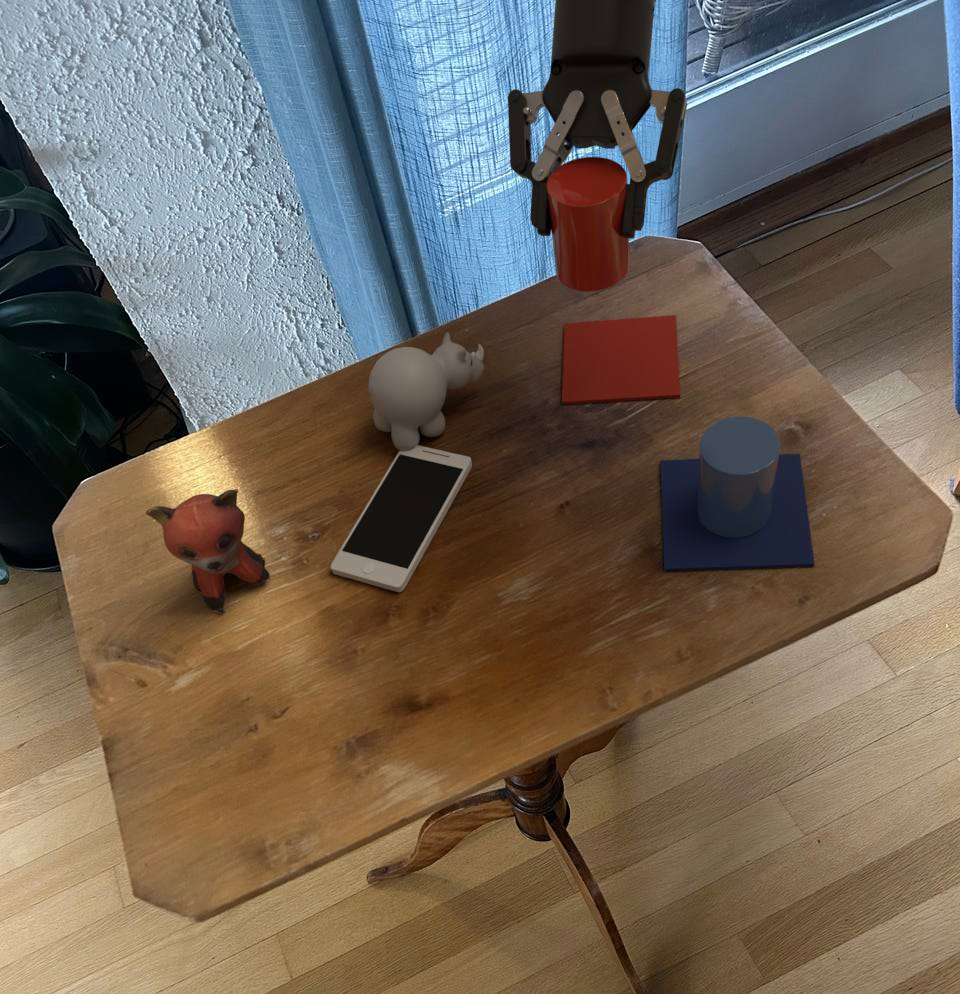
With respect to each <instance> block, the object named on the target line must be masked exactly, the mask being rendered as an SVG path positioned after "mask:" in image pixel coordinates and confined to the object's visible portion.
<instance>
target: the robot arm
mask: <svg viewBox="0 0 960 994" xmlns="http://www.w3.org/2000/svg"><path fill="white" fill-rule="evenodd" d="M554 1H555V2H554V3H555V4H554V16H553V29H552V42H551V43H552V44H551V56H550V57H551V58H550V70H549V76H548V79H547V82H546V84H545V86H544V87H543V89H542V90H537V91H531V92H523V91H521V90H520V89H517V88H515V89H512V90H510V92H509V93H508V95H507V112H508V113H507V114H508V140H509V161H510V162H509V163H510V169H511V170H512V171H513V172H514V173H516V174H517V175H518V177H520V178H523V179H525V180H528V181H530V182H531V201H530V216H529V220H530V222H531V226H533V227H534V228H536V232H537V235H539V236H540V237H550V236H551V235H552V232H551V222H550V213H549V203H548V193H547V182H548V179H549V177H550V175H551V174H552V173H553V172H554V171H555V170H556V169H557V168H558V167H560V166H561V165H563V164H564V163H566V160H567V159H568V158H569V156H570V154H571V152H572V150H573V149H574V148H575V149H579V150H580V149H581V150H582V149H589V148H592V147H598V148H602V149H605V150H608V149H610V150H611V149H612V150H613V149H616V147H617V146H618V148H619V151H620V153H621V156H622V158H623V160H624V163H625V166H626V168H627V171H628V174H629V177H630V178H629V183H627V188H626V197H625V208H624V219H623V237H624V238H629V240H630V239H631V240H632V239H635V236H636V232H641V231H642V230H643V227H644V225H645V219H646V218H645V217H646V207H647V196H648V190H649V188H650V187H651V185H653V184H655V183H656V182H659V181H668V180H669V179H671V178H672V177H673V175H674V171H675V166H676V162H677V156H678V151H679V148H680V143H681V142H680V141H681V137H682V132H683V128H684V122H685V116H686V113H687V109H688V102H687V98H686V95H685V92H684V90H683V89H682V88H679V87H676V88H673V89H671V91H669V90H668V91H667V90H660V89H659V90H658V89H652V87H651V83H650V80H649V72H650V71H649V70H650V62H651V61H650V60H651V49H652V40H653V39H652V38H653V28H654V17H655V7H656V6H655V5H656V2H657V0H554ZM651 106H652V107H653V108H654V109H655V115H656V118H657V121H658V122H659V123H660V124H662V126H661V131H660V136H659V141H658V145H657V151H656V155H655V160H653V161H650V162H648V163H645V162H644V159H643V156H642V153H641V151H640V147H639V146H638V143H637V140H636V137H635V134H634V133H633V131H634V129H636V126H638V124H639V123H640V121H641V120H642V119H643V118H644V116H645V114H646V113H647V112H648V110H649V109H650V108H651ZM544 107H545V109H546V111H547V112H548V114H549V116H550V117H551V120H552V121H553V123H554V125H553V126H552V128H551V130H550V132H549V134H548V136H547V137H546V139H545V142H544V144H543V149H542V151H541V153H540V155H539V157H538V158H537V160H536V162H535V161H533V159H532V158H533V156H532V133H531V131H532V130H531V129H532V128H531V125H532V124H535V123H536V122H537V121H538V118H539V112H540V111H541V109H543V108H544Z"/></svg>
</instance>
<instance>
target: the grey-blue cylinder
mask: <svg viewBox="0 0 960 994" xmlns="http://www.w3.org/2000/svg"><path fill="white" fill-rule="evenodd" d="M698 453H699V454H698V459H699V469H698V491H697V515H698V518H699V520H700V522H701V523H702V524H703V526H704V527H705V528H707V529H708V530H709V531H711V532H712V533H714V534H717V535H719V536H723V537H728V538H741V537H746V536H749V535H752V534H754V533H756V532H758V531H759V530H761V529H762V528H763V527H764V526H765V525H766V524H767V522H768V521H769V519H770V516H771V511H772V504H773V497H774V490H775V483H776V476H777V468H778V461H779V455H781V440H780V437H779V435H778V432H777V431H776V430H775V429H774V428H773V427H772V426H771V425H770V424H768V423H767V422H766V421H764V420H761V419H759V418H755V417H752V416H744V415H743V416H742V415H738V416H729V417H725V418H721V419H720V420H717V421H716V422H714V423H712V424H711V425H710V426H708V428H706V429H705V430H704V432H703V433H702V435H701V437H700V441H699V449H698Z"/></svg>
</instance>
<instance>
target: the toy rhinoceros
mask: <svg viewBox="0 0 960 994" xmlns="http://www.w3.org/2000/svg"><path fill="white" fill-rule="evenodd" d="M477 345H478V346H477V350H476V352H475V351H472V352H469V351H467V349H465V347H464V346H462V345H461V344H459V343H455V342H452V341H451V334H450V332H448V331H447V332H446V333H445V334H444V336H443V340H442V343H441V345H440V346H439V347H437V348H436V349H435V351H434V352H433V353H432V354H429V352H427V351H425V350H423V349H421V348H417V347H413V346H401V347H396V348H393V349H390V350H389V351H388V352H386V353H384V354H383V355H381V356H380V357H379V358H378V360H377V361H376V362H375V364H374V365H373V367H372V369H371V371H370V373H369V378H368V396H369V399H370V402H371V405H372V406H373V408H374V410H373V416H372V417H373V424H374V426H375V428H376V429H377V430H379V431H381V432H384V433H391V440H392V443H393V445H394V447H395V448H396V449H397V450H398V451H400V450H410V449H413V448H415V447H416V446H417V445H419V443H420V439H421V437H420V434H421V435H422V436H424V437H427V438H436V437H439V436H441V435H442V434H443V432H444V431H445V430H446V419H445V416H444V414H443V412H442V408H443V406H444V403H445V401H446V397H447V392H448V391H447V390H458V389H461V388H463V387H465V386H466V385H467V384H473V383H475V382H477V381H478V380H480V379H481V377H482V376H483V372H484V370H485V365H484V363H483V360H484V356H485V351H484V347H483V346H482V344H480V343H478V344H477Z"/></svg>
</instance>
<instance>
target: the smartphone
mask: <svg viewBox="0 0 960 994" xmlns="http://www.w3.org/2000/svg"><path fill="white" fill-rule="evenodd" d="M472 467H473V462H472V458H471V457H470V456H468V455H464V454H459V453H453V452H450V451H445V450H442V449H441V450H440V449H436V448H431V447H427V446H423V445H419V444H418V445H417V446H416V447H415V448H413V449H410V450H398V452H397V454H396V455H395V457H394V459H393V461H392V462H391V464H390V466H389V467H388V469H387V471H386V472H385V474H384V475H383V477H382V479H381V481H380V482H379V484H378V486H377V487H376V488H375V490H374V492H373V494H372V496H371V497H370V499H369V500H368V502H367V504H366V505H365V506H364V508H363V510H362V512H361V513H360V515H359V517H358V518H357V520H356V522H355V523H354V525H353V527H352V528H351V530H350V532H349V534H347V537H346V539H345V540H344V542H343V543H342V545H341V547H340V549H338V551H337V553H336V555H335V557H334V559H333V560H332V562H331V564H330V569H331V572H332V574H333V575H335V576H336V575H337V576H340V577H342V578H347V579H351V580H353V581H358V582H360V583H364V584H368V585H372V586H375V587H379V588H382V589H384V590H389V591H392V592H396V593H402V592H403V591H404V590H405V588H406V587H407V585H408V584H409V582H410V581H411V578H412V576H413V575H414V573H415V571H416V569H417V568H418V565H419V564H420V562H421V560H422V558H423V557H424V555H425V553H426V551H427V549H428V548H429V545H430V544H431V542H432V540H433V538H434V537H435V535H436V533H437V532H438V529H439V528H440V525H442V522H443V520H444V519H445V517H446V515H447V513H448V511H449V509H450V507H451V506H452V504H453V502H454V501H455V499H456V497H457V495H458V493H459V492H460V489H461V488H462V486H463V484H464V483H465V481H466V479H467V477H468V475H469V474H470V472H471V470H472Z"/></svg>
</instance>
